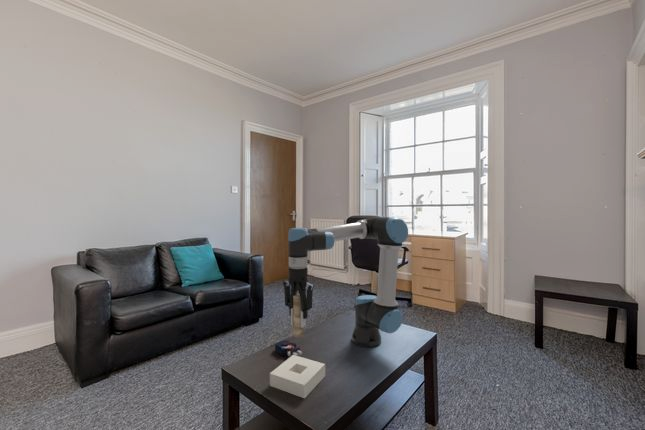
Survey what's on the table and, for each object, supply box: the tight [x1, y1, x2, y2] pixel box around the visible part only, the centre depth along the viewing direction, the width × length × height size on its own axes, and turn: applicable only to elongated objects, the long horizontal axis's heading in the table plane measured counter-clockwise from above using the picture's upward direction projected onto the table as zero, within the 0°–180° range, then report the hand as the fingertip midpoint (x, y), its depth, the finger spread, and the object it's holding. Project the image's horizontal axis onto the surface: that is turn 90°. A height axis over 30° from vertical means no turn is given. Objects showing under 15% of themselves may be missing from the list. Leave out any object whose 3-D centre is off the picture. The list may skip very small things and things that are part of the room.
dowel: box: [292, 293, 304, 338], centre depth 116 cm, size 4×4×16 cm
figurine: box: [274, 339, 303, 357], centre depth 139 cm, size 9×4×15 cm
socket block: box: [269, 355, 326, 399], centre depth 117 cm, size 16×16×5 cm
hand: (298, 324), depth 116 cm, fingers closed on dowel, 4 cm apart
